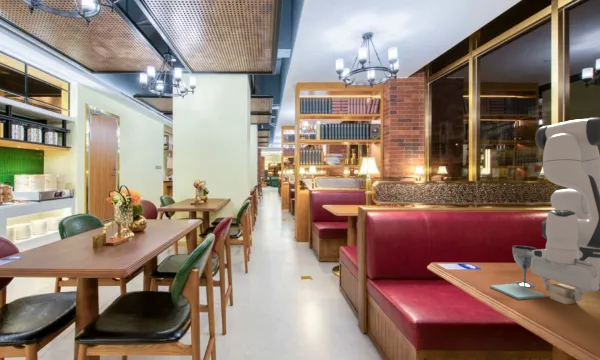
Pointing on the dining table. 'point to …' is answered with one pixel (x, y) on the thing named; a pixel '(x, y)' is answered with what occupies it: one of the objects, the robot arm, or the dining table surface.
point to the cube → (562, 293)
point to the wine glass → (523, 262)
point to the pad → (517, 291)
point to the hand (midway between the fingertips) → (562, 295)
